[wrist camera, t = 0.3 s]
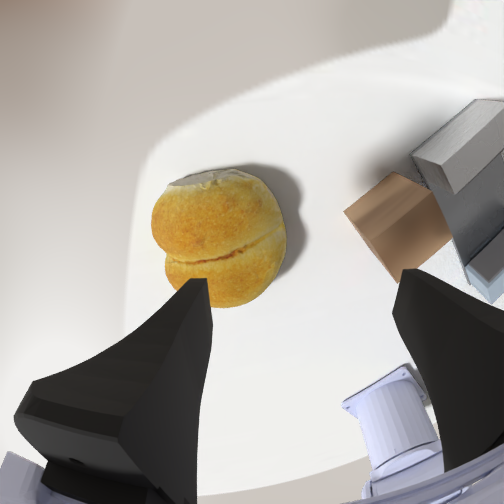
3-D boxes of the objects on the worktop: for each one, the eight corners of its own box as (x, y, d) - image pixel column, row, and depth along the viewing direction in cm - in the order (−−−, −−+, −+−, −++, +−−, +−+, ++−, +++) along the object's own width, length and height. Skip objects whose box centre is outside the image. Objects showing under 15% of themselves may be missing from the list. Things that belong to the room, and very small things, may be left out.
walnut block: (414, 209, 19) (453, 237, 15) (368, 247, 20) (397, 283, 16) (392, 171, 18) (432, 191, 14) (343, 211, 19) (370, 242, 15)
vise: (519, 231, 20) (544, 249, 16) (467, 283, 22) (490, 306, 19) (474, 99, 15) (509, 102, 12) (409, 154, 17) (441, 165, 14)
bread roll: (182, 298, 22) (171, 332, 19) (147, 183, 18) (124, 200, 15) (291, 282, 22) (299, 316, 18) (274, 158, 18) (281, 169, 14)
